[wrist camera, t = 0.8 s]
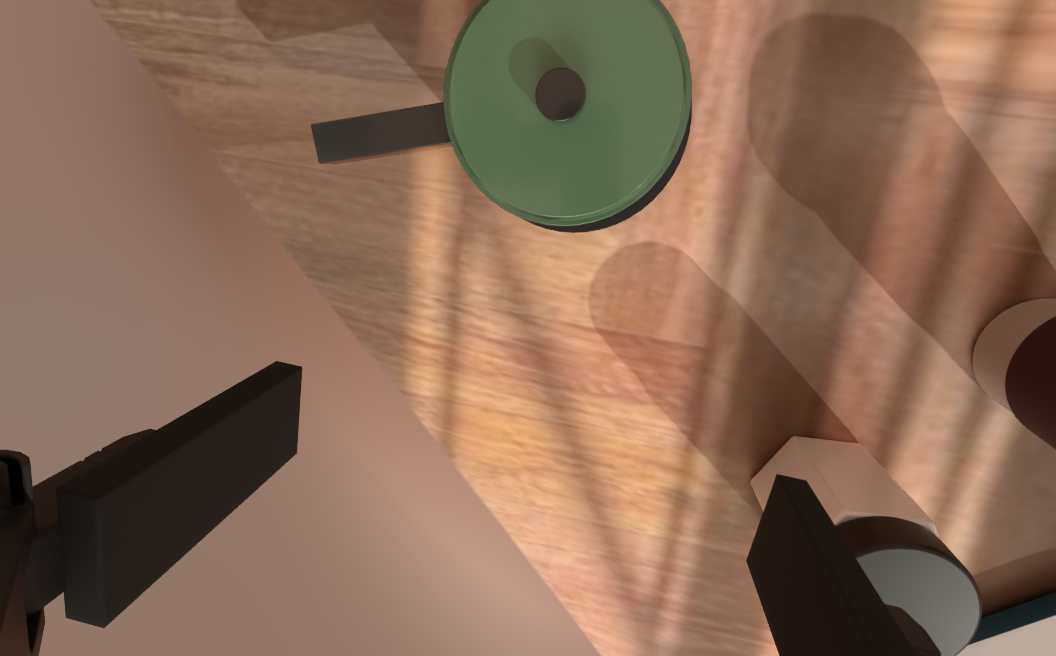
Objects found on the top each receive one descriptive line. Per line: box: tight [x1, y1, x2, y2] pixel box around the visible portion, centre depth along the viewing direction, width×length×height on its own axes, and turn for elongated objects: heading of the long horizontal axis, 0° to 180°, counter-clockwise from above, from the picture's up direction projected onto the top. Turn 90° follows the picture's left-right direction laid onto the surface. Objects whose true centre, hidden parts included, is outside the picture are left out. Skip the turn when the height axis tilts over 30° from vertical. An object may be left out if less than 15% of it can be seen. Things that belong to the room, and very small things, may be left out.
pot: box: [311, 0, 692, 226], centre depth 30 cm, size 12×19×11 cm, turn 98°
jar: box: [750, 436, 982, 656], centre depth 35 cm, size 9×8×12 cm
